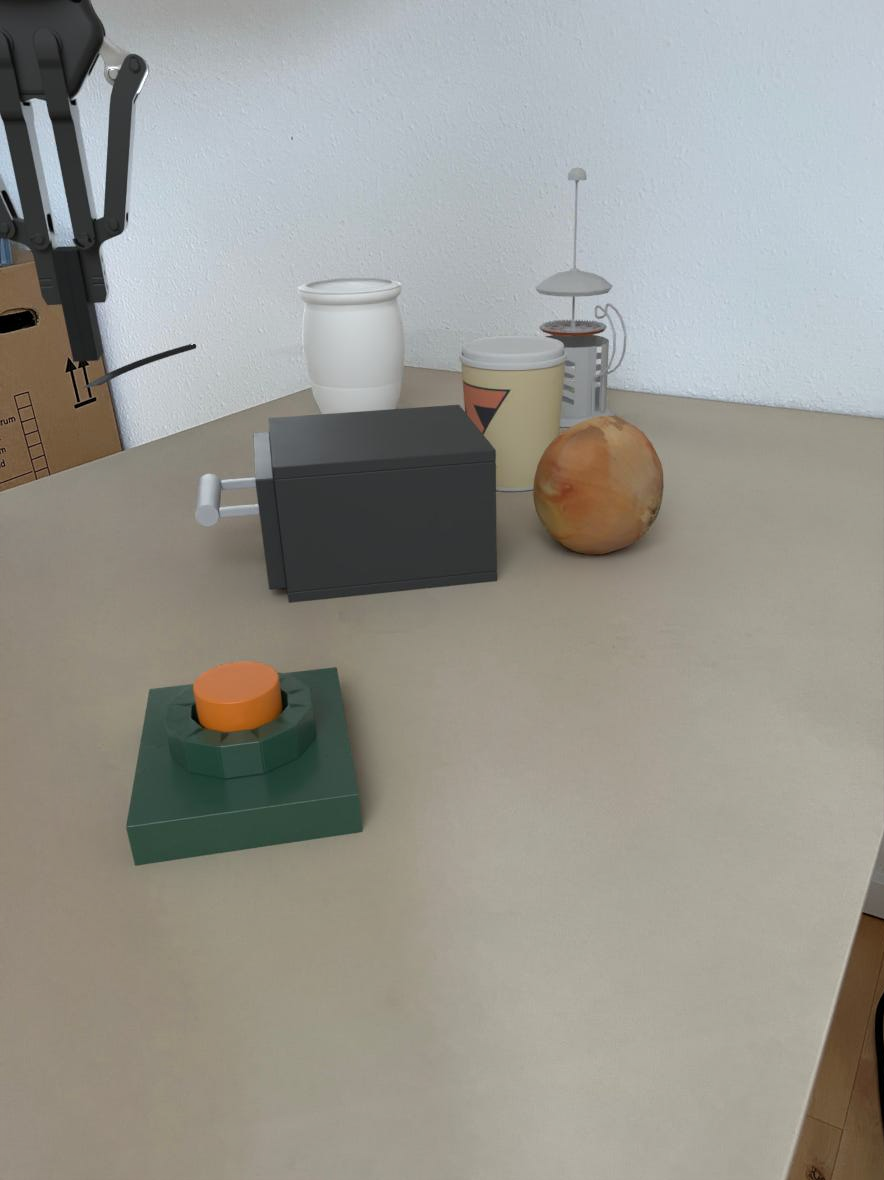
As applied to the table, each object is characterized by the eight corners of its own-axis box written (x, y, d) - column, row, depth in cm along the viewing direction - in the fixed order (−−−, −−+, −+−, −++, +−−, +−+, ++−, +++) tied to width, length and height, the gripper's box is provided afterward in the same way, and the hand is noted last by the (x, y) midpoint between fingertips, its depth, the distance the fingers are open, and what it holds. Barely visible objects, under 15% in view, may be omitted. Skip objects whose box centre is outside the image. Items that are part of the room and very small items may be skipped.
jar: (366, 450, 98) (355, 294, 91) (290, 435, 103) (274, 287, 96) (428, 425, 106) (422, 280, 99) (354, 413, 111) (344, 274, 104)
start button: (200, 696, 48) (194, 665, 48) (281, 686, 49) (277, 656, 48) (196, 739, 45) (190, 707, 44) (284, 728, 46) (279, 696, 45)
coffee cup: (447, 470, 92) (443, 340, 86) (536, 457, 95) (537, 330, 89) (487, 500, 84) (485, 359, 78) (582, 485, 87) (586, 348, 82)
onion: (558, 518, 80) (561, 396, 75) (676, 536, 76) (687, 408, 71) (509, 560, 72) (509, 427, 68) (638, 582, 68) (647, 443, 64)
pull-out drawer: (204, 596, 65) (186, 485, 62) (209, 536, 75) (194, 437, 72) (463, 570, 69) (460, 463, 65) (435, 515, 78) (431, 419, 75)
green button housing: (156, 723, 53) (143, 659, 51) (340, 700, 55) (333, 637, 53) (134, 866, 43) (117, 792, 41) (362, 833, 44) (355, 760, 43)
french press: (568, 400, 115) (574, 165, 103) (645, 418, 107) (661, 166, 96) (508, 415, 109) (507, 168, 97) (586, 436, 101) (595, 170, 90)
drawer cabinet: (288, 603, 66) (272, 467, 62) (282, 537, 77) (268, 417, 73) (497, 581, 69) (495, 449, 64) (462, 520, 80) (459, 404, 75)
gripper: (-161, -117, 47) (-35, 375, 58) (120, -109, 49) (190, 363, 60) (-112, -87, 54) (-7, 351, 65) (134, -81, 56) (195, 340, 67)
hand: (88, 356), depth 62 cm, fingers closed
